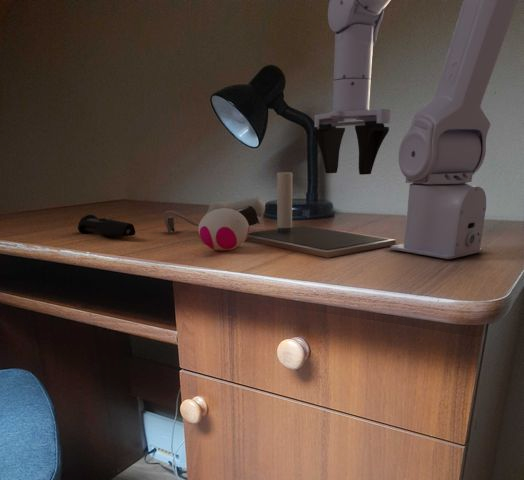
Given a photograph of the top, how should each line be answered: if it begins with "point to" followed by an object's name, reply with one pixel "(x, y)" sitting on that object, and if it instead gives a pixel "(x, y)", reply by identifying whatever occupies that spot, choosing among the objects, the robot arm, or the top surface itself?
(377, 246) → the tablet
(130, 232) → the electric trimmer
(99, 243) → the top surface
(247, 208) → the white corded device
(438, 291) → the top surface
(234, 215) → the stress ball
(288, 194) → the beige cylinder
